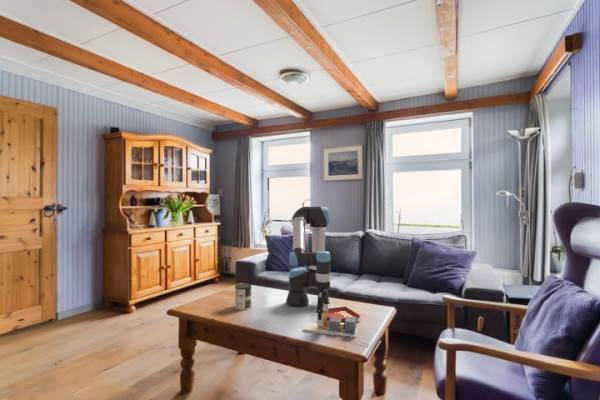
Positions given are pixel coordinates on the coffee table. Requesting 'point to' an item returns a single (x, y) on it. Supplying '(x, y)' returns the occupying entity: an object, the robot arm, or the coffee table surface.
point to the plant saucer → (335, 315)
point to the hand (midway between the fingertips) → (322, 320)
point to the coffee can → (242, 296)
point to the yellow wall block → (326, 323)
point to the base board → (325, 330)
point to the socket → (350, 325)
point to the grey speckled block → (335, 324)
